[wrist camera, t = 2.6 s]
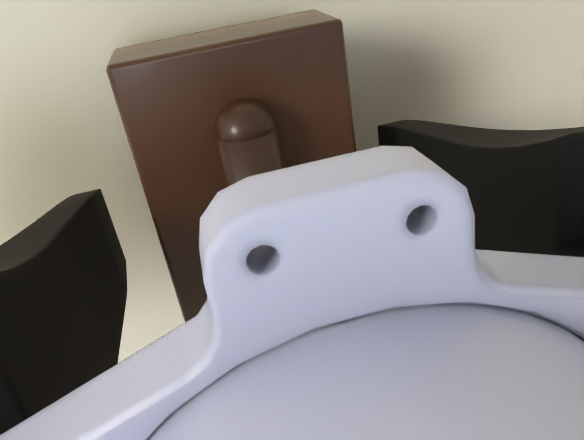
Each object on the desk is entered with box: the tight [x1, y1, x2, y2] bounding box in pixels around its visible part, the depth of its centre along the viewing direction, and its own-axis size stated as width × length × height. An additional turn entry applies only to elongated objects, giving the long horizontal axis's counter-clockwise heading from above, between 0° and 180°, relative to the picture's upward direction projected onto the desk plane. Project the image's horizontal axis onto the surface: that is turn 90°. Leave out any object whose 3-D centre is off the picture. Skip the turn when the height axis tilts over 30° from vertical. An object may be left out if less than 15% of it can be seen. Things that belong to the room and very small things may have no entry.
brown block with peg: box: [107, 10, 356, 323], centre depth 13 cm, size 8×4×5 cm, turn 9°
